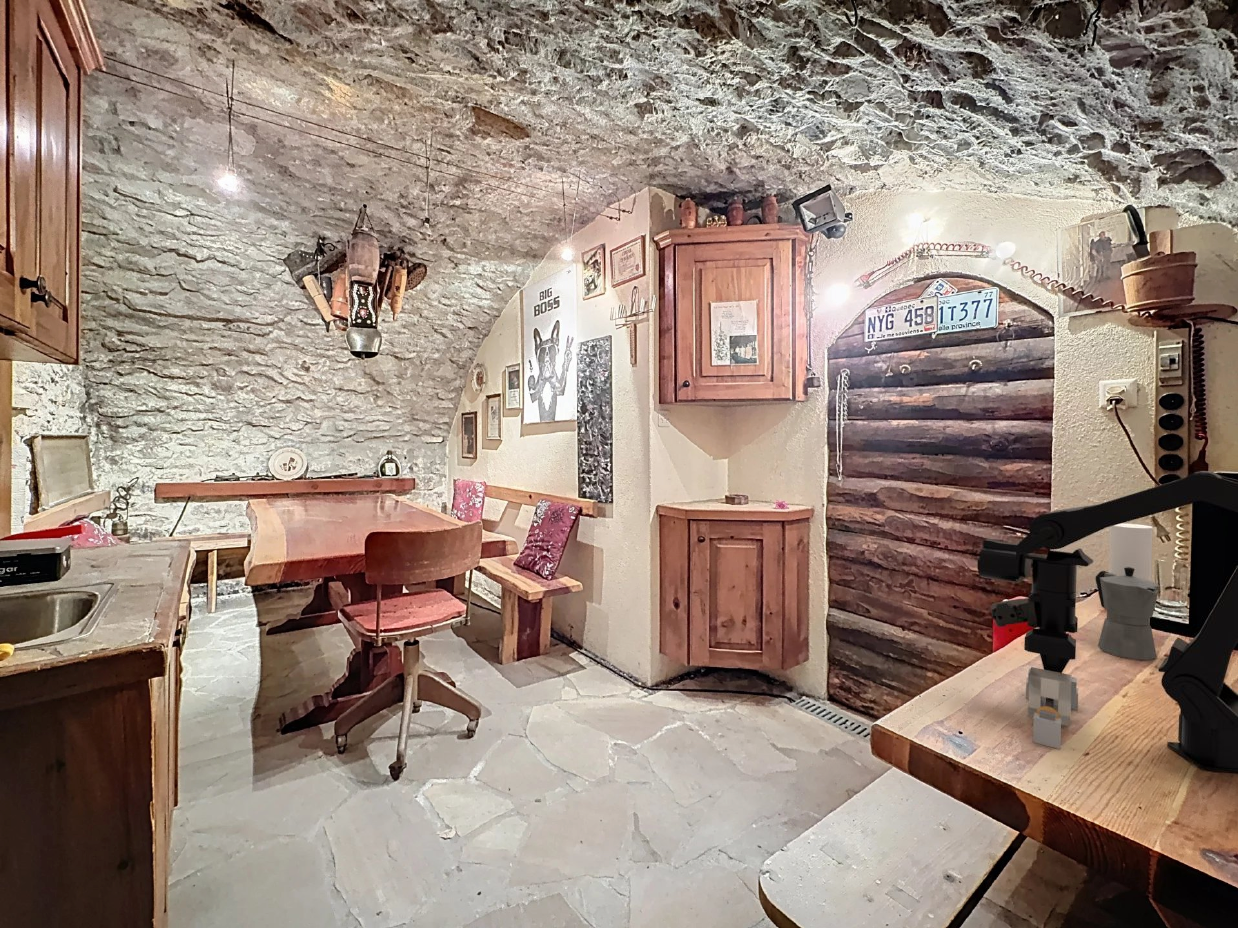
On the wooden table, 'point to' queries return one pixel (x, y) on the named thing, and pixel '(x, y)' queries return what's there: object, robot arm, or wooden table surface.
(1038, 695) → the sleeve
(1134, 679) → the wooden table surface
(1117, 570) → the cylindrical container
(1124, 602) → the coffeepot
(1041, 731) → the cord rig
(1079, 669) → the wooden table surface
